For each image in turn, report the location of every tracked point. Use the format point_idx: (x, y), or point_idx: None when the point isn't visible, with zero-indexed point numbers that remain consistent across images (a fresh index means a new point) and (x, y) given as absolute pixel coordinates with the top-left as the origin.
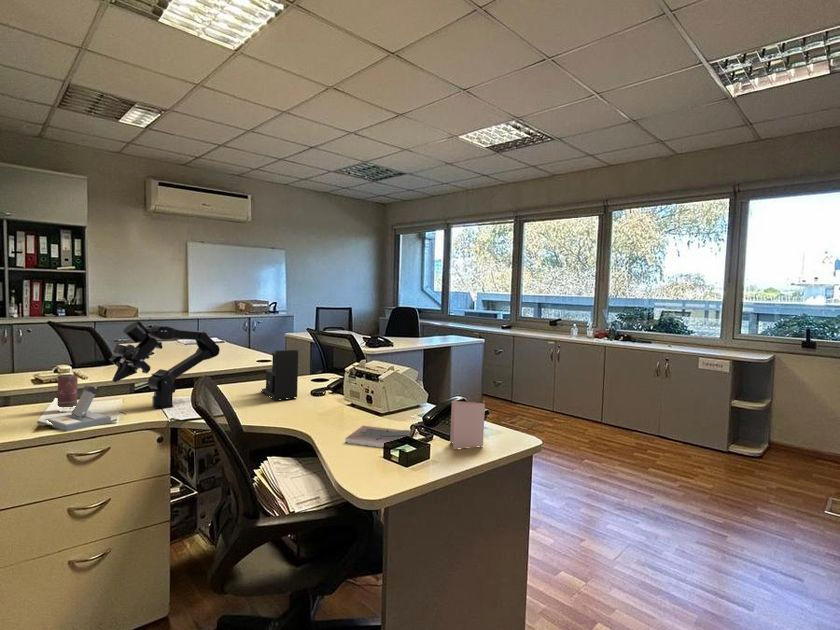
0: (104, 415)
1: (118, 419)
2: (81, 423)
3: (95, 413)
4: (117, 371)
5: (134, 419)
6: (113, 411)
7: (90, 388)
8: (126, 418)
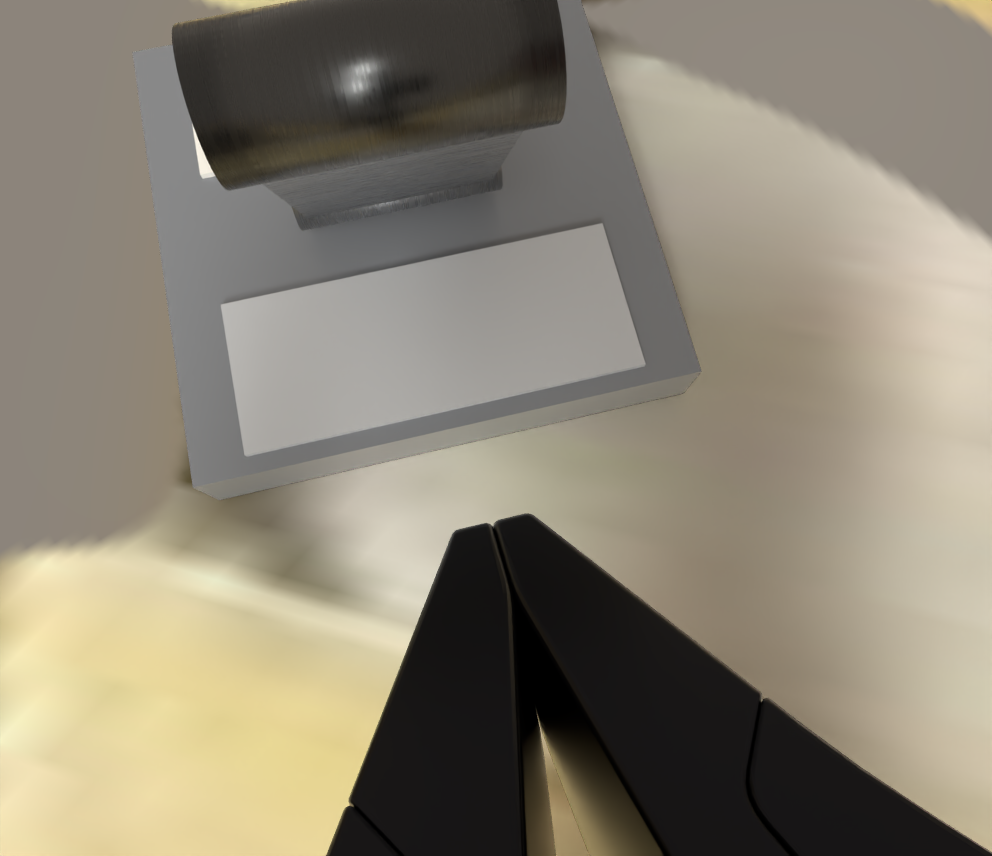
0: (297, 438)
1: (303, 613)
2: (152, 179)
3: (487, 383)
4: (691, 770)
5: (157, 777)
6: (801, 693)
7: (260, 8)
8: (285, 709)
